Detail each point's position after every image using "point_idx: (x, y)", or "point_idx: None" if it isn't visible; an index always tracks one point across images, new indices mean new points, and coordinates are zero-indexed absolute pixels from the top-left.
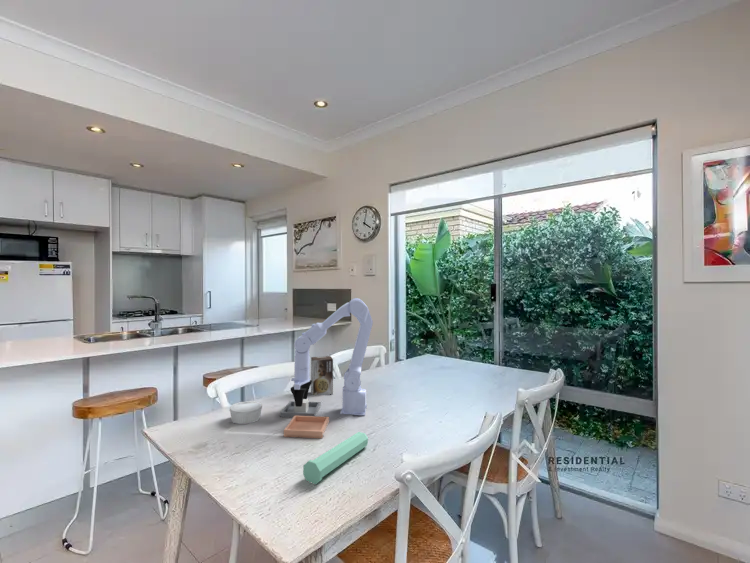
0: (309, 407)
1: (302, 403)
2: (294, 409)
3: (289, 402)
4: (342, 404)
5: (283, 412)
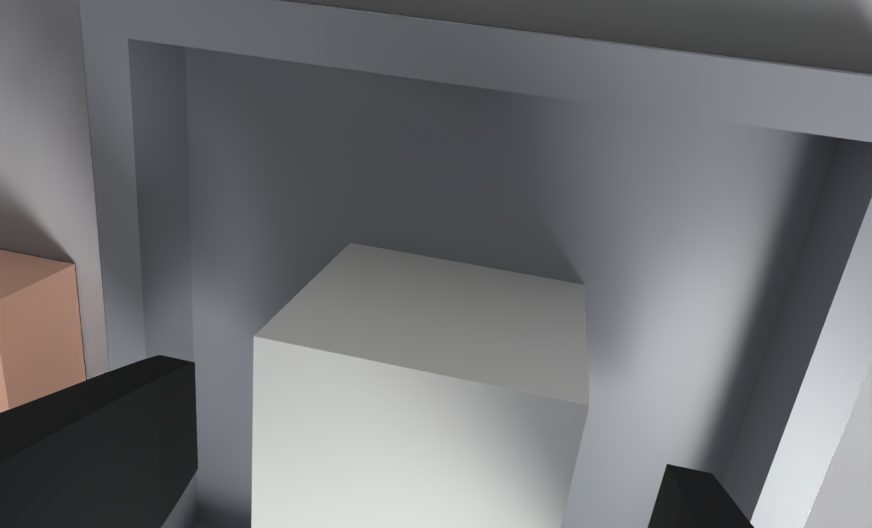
0: (645, 501)
1: (258, 508)
2: (325, 271)
3: (825, 94)
4: None
5: (86, 58)
